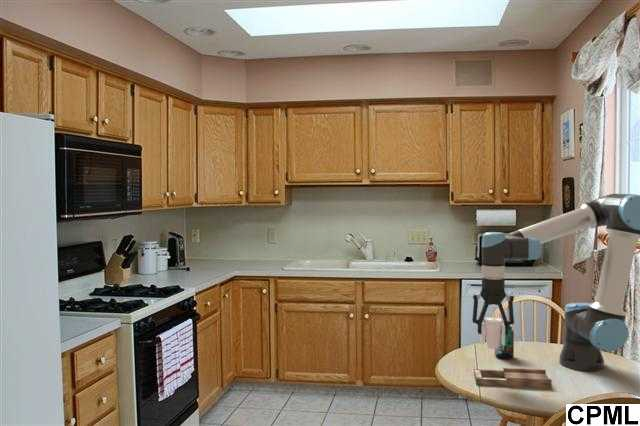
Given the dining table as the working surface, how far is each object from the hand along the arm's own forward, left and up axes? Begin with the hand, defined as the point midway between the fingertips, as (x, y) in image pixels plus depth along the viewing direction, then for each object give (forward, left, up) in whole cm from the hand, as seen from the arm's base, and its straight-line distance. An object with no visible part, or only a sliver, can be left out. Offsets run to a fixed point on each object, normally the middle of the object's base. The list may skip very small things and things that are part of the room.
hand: (492, 343), depth 189 cm
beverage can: (-7, -27, -13) cm, 31 cm away
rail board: (-6, 0, -13) cm, 14 cm away
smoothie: (0, 0, -1) cm, 1 cm away
